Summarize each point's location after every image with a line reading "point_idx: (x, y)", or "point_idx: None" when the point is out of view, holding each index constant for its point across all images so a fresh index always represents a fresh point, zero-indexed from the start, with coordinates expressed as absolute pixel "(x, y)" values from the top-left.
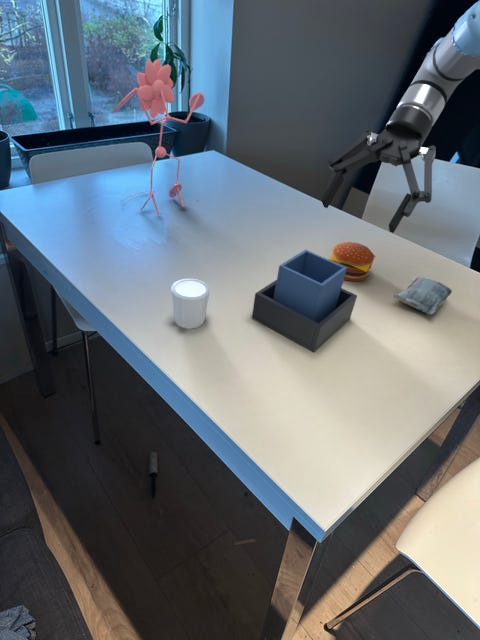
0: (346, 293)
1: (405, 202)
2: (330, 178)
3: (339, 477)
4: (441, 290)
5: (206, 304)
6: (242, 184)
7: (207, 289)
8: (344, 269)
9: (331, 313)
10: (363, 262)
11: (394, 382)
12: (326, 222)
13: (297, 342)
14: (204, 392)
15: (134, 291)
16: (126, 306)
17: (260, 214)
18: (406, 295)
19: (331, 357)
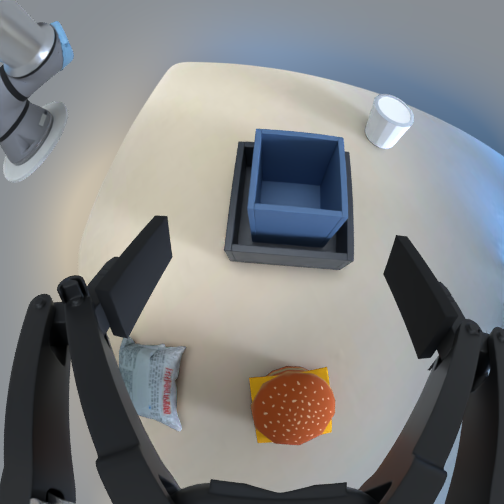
0: (242, 245)
1: (116, 264)
2: (451, 302)
3: (172, 82)
4: None
5: (373, 121)
6: None
7: (383, 115)
8: (248, 198)
9: (239, 175)
10: (263, 388)
11: (147, 183)
12: None
13: None
14: (295, 78)
15: (442, 147)
16: (425, 125)
17: None
18: (166, 351)
19: (220, 171)
